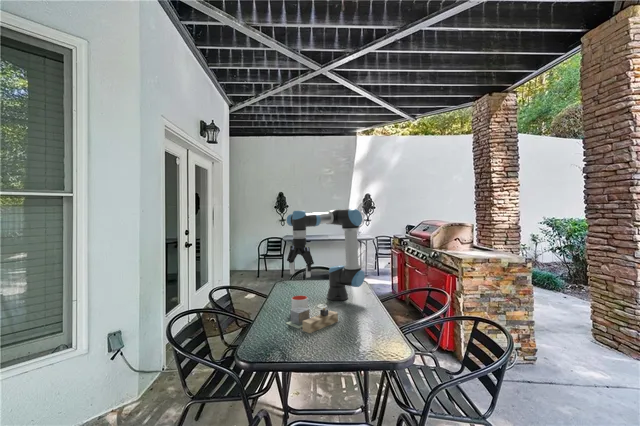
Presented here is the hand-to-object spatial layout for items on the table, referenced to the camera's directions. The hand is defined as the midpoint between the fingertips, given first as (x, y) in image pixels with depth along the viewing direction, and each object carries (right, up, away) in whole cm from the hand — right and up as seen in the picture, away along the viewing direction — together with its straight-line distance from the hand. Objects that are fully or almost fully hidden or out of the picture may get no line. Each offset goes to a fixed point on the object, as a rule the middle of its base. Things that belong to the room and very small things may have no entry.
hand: (300, 275), depth 165 cm
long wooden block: (+12, -27, -5) cm, 29 cm away
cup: (-1, -27, +15) cm, 31 cm away
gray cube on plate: (0, -26, 0) cm, 26 cm away
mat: (0, -27, 0) cm, 27 cm away
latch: (+14, -21, -3) cm, 25 cm away
